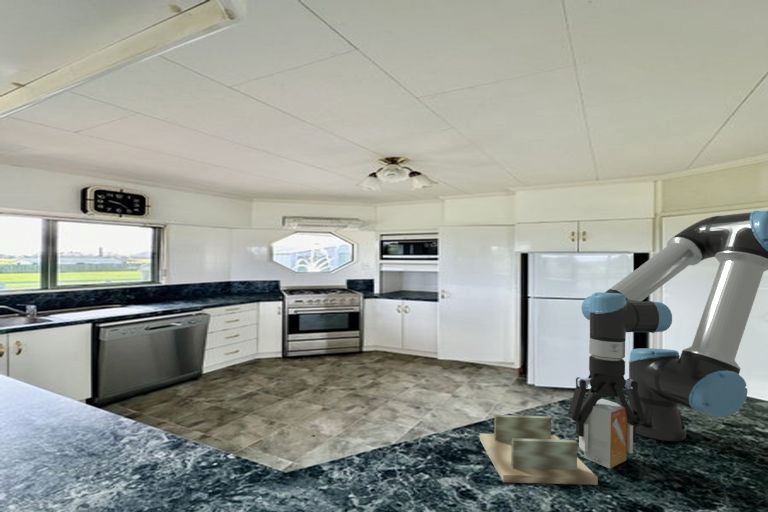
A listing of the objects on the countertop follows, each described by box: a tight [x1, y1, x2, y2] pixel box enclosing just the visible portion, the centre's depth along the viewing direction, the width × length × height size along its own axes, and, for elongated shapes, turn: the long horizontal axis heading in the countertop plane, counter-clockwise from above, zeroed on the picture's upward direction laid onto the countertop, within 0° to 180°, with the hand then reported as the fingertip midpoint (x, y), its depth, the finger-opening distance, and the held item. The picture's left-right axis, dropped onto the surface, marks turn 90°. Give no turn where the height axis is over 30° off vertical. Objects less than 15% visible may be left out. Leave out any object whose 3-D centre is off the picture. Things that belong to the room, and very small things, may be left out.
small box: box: [583, 398, 628, 470], centre depth 92 cm, size 8×6×13 cm
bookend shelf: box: [479, 414, 599, 486], centre depth 91 cm, size 20×20×8 cm
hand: (605, 450), depth 92 cm, fingers closed on small box, 10 cm apart
